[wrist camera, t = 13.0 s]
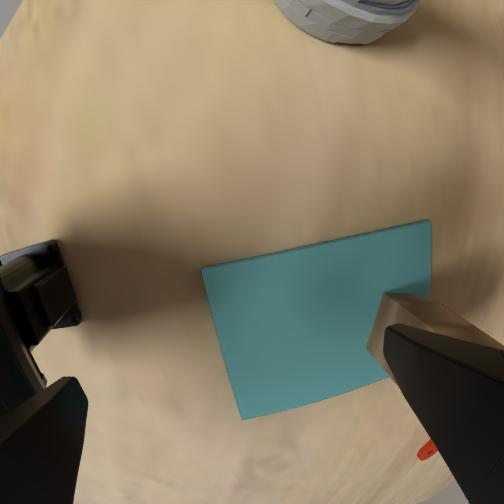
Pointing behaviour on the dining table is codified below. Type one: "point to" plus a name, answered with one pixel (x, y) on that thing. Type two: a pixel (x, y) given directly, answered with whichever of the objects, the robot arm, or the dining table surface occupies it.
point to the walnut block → (420, 323)
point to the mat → (311, 314)
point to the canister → (347, 18)
